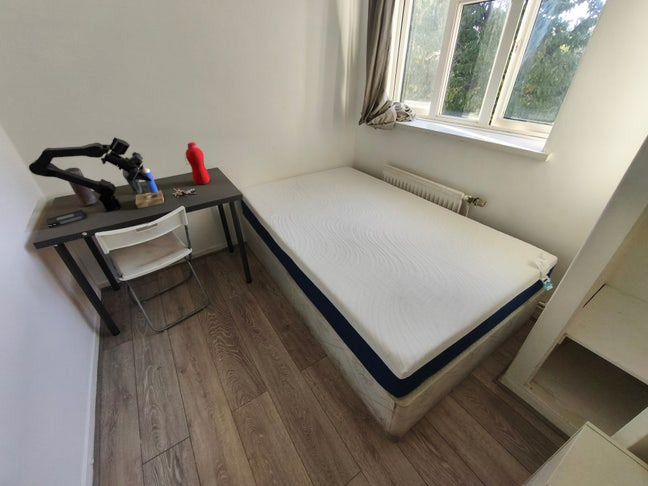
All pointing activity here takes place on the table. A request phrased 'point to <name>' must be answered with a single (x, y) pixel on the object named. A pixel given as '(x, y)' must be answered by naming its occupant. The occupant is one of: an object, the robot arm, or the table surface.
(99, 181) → the robot arm
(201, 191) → the table surface
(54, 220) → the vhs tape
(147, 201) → the holder
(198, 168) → the water bottle
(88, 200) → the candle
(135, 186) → the beverage cup
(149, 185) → the white topped blue rod
